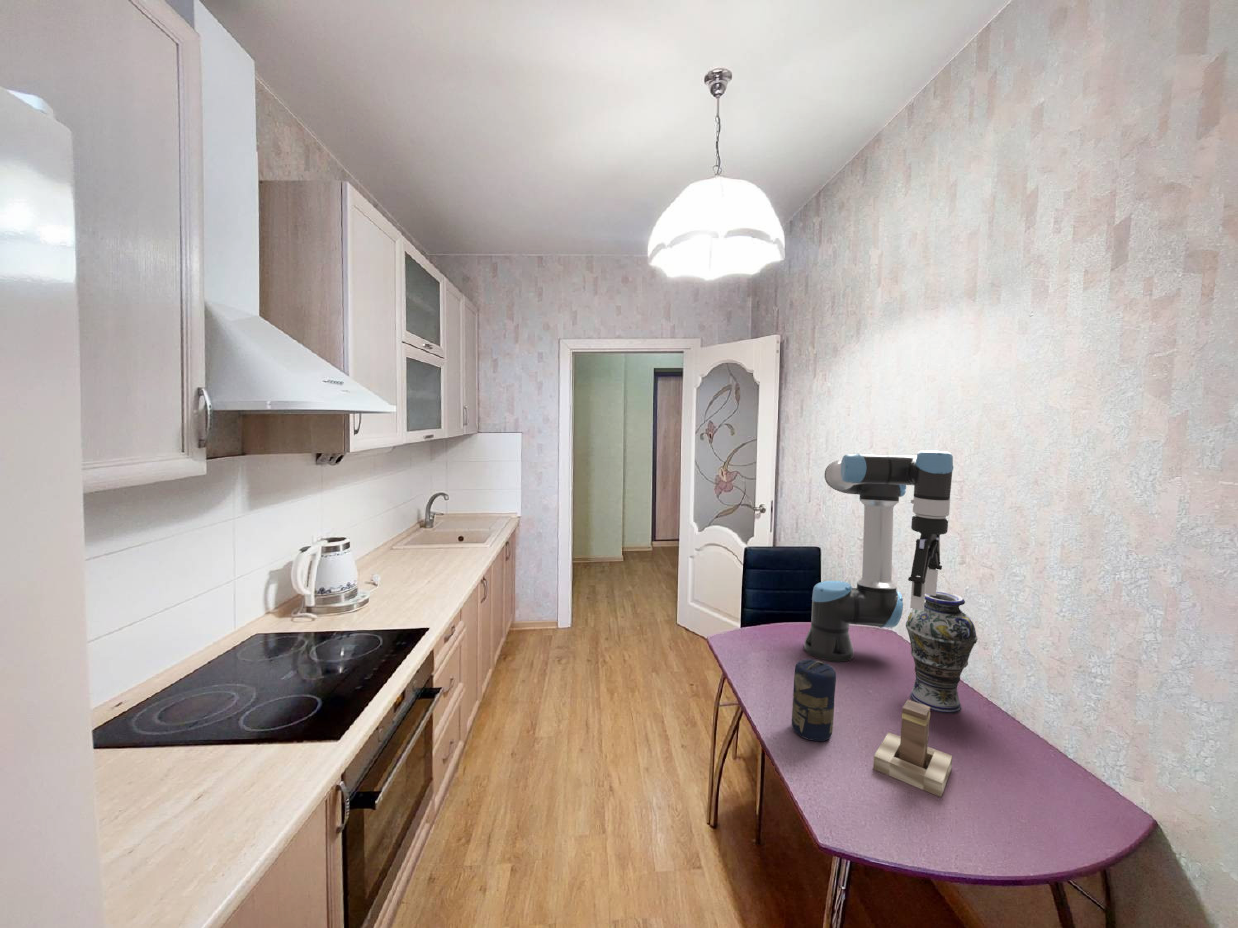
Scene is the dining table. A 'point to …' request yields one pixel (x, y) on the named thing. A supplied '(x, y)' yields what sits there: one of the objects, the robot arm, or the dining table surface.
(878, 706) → the dining table surface
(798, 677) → the blue patterned canister
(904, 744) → the block
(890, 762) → the socket block
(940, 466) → the robot arm
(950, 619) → the vase
